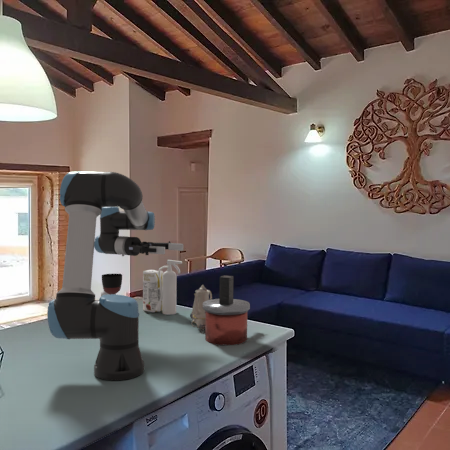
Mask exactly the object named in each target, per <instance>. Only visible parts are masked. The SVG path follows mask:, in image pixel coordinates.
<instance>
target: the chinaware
mask: <svg viewBox="0 0 450 450" xmlns="http://www.w3.org/2000/svg"><path fill="white" fill-rule="evenodd" d="M194 292H195V293H193V295H194V299H193V300H194V301H193V304H192V311H191V313H190V314H189V315H190V316H189V317H190V319H191V320H192V321H191V326H192V327H193V328H196V327H197V328H196V329H200V330H205V317H206V311H205V310H204V309H203V302H205V301H207V300H212V299H213V294H212V291H211V290H210V289H207V287H205V285H204V284H202V285H201V286H200V287H199V288H198V289H196V290H195V291H194ZM193 323H194V324H196V325H195V326H194V324H193Z"/></svg>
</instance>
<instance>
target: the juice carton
mask: <svg viewBox="0 0 450 450" xmlns="http://www.w3.org/2000/svg"><path fill="white" fill-rule="evenodd" d="M158 272H159V270H155V269H147V270H143V271H142V306H143V307H142V308H143V311H144V312H150V313H157V312H159V311H156V310H154V309H155V307H156V305H157V303H158V302H159V301H160V281H159V276H158ZM163 273H164V271H163V270H161V273H160V275H161V280H162V279H163ZM161 311H162V306H161Z"/></svg>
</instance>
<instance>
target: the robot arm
mask: <svg viewBox="0 0 450 450" xmlns="http://www.w3.org/2000/svg"><path fill="white" fill-rule="evenodd" d="M59 202H60V204H61V205H62V207H64V211H65V212H66V213H67V214H68V224H67V226H68V227H67V232H66V233H67V236H66V243H65V244H66V245H65V256H64V264H63V266H64V267H63V277H62V287H61V289H60V290H59V291H57V292H56V293H55V294H56V295H55V298H54V299H52V300H50V301H49V302H48V306H47V316H46V317H47V324H48V329H49V331H50V333H51V335H52V336H53V337H54V338H56V339H61V340H62V339H66V340H77V339H79V340H84V339H85V340H88V339H90V340H91V339H93V340H96V339H97V340H98V339H99V349H98V352H97V356H96V359H95V363H94V366H93V371H94V372H93V374H94V376H95V377H96V378H98V379H100V380H104V381H105V380H106V381H125V380H130V379H134V378H137V377H140V376H141V375H142V374H143V373H144V371H145V361H144V359H143V356H142V352H141V349H140V347H139V346H140V345H139V329H140V328H139V326H140V325H139V317H140V312H139V303H138V301H137V300H136V299H135V298H133V297H131V296H127V295H123V294H117V293H116V294H111V295H102V296H101V295H100V296H99V299H96V294H95V293H94V292H93V290H92V280H93V279H92V278H93V265H94V253H95V251H96V252H97V253H99V254H100V253H101V254H105V255H120V256H121V257H124V256H133V257H137V256H138V255H140V254H143V255H145V256H149V254H151V255H153V254H154V255H166V250H168V251H178V252H179V251H180V252H182V251H184V243H175V242H174V243H172V242H171V241H170V240H169V241H168V242H152V241H148V242H147V241H141V239H140V238H139V237H137V236H125V235H124V236H123V235H120V231H122V230H123V231H124V230H127V231H128V230H129V231H130V230H131V231H151V230H153V229H155V225H156V224H155V223H156V221H155V220H156V219H155V217H156V216H155V213H154V212H153V211H147V210H146V207H145V204H144V202H143V192H142V190H141V188H140V186H139V185H138V184H137V182H136V181H134V180H132V178H130V177H128V176H126V175H124V174H122V173H119V172H116V171H83V170H78V171H69V172H68V173H66V174H65V175H64V176H63V178H62V180H61V183H60V189H59ZM120 209H122V210H123V211H120ZM97 217H99V221H100V222H99V223H100V225H99V226H100V227H99V231H100V233H99V235H96V227H97Z"/></svg>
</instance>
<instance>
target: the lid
mask: <svg viewBox="0 0 450 450" xmlns="http://www.w3.org/2000/svg"><path fill="white" fill-rule="evenodd" d="M218 288H219V298H215V299H213V298H212V300H210V299H209V300H207V301H205V302H203V309H204V310H206V311H208V312H213V313H222V314H232V313H241V312H245V311H248V312H249V310H250V309H251V304H250V302H249V301H248V302H247V300H243V299H238V298H234V275H221V276H219V287H218Z"/></svg>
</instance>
